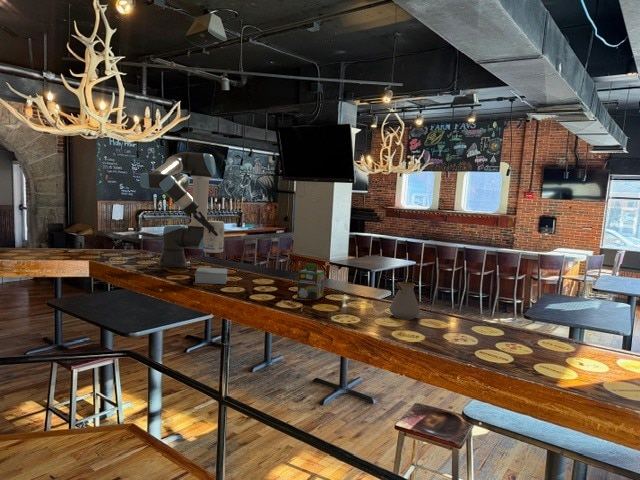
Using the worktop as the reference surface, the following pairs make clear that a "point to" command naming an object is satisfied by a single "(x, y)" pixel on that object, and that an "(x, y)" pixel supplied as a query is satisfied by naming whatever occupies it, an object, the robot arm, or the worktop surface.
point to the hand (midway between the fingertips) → (220, 239)
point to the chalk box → (310, 283)
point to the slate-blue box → (211, 275)
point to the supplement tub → (213, 238)
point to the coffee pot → (405, 302)
